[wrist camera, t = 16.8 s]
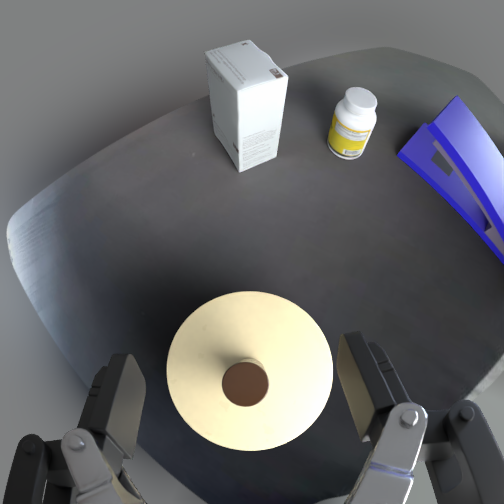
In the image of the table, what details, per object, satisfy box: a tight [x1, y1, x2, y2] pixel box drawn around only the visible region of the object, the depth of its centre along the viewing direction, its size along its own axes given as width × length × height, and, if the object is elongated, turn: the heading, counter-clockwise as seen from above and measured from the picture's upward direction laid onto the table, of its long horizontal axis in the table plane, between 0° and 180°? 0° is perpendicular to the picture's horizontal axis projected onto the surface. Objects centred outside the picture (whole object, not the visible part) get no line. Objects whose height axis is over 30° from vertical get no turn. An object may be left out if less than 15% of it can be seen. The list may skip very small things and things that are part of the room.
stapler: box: [397, 96, 504, 265], centre depth 32 cm, size 12×28×10 cm, turn 45°
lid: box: [167, 291, 333, 451], centre depth 19 cm, size 13×13×9 cm
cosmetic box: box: [204, 40, 288, 172], centre depth 33 cm, size 8×6×15 cm
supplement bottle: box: [327, 87, 377, 159], centre depth 35 cm, size 5×5×10 cm
